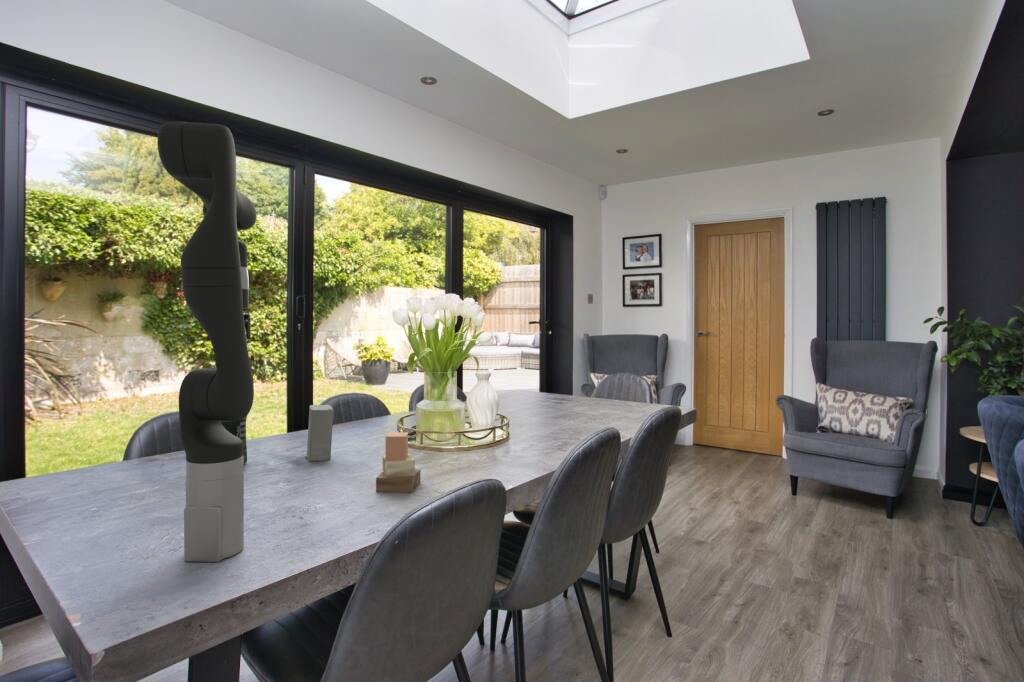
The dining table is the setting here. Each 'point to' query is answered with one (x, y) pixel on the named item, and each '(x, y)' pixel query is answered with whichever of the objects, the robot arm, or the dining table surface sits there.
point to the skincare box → (319, 432)
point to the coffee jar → (237, 431)
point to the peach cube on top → (396, 446)
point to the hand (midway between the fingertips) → (230, 359)
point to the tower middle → (399, 467)
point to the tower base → (398, 483)
